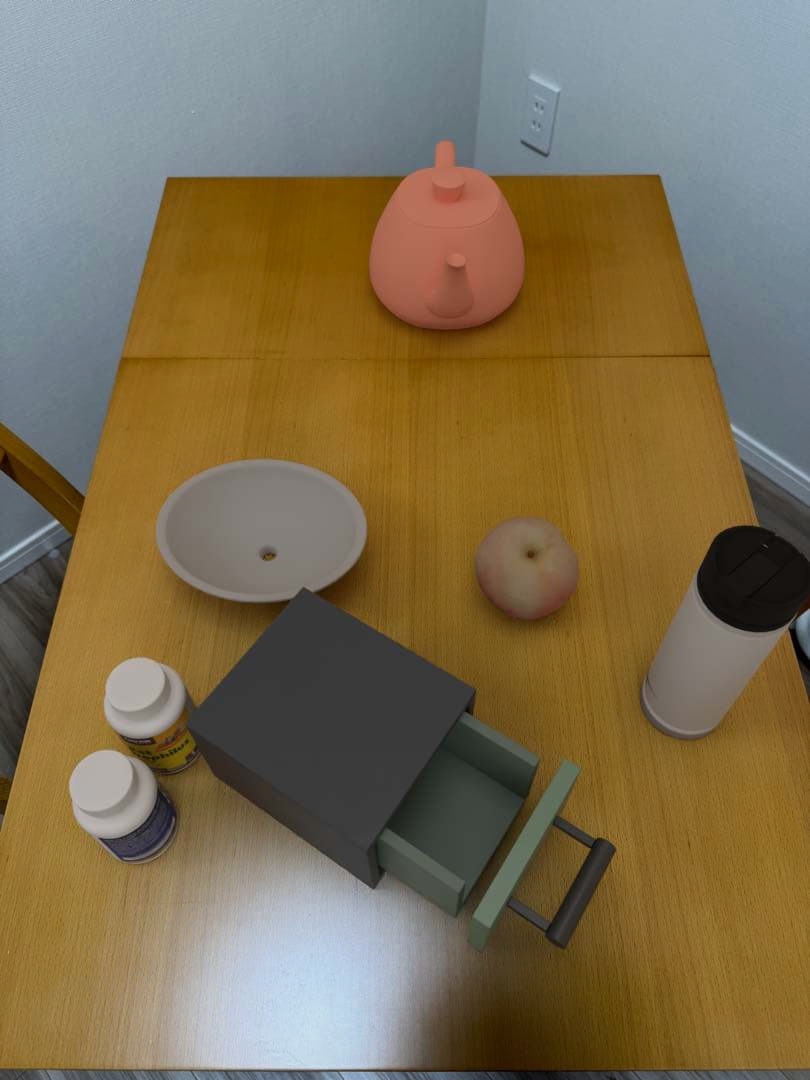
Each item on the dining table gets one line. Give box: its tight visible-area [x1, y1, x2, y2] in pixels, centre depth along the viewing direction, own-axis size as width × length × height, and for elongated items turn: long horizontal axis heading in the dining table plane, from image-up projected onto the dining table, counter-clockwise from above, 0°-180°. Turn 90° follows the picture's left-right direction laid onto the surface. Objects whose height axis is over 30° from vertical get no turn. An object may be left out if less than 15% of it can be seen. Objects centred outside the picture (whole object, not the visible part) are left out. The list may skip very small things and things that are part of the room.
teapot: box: [368, 140, 525, 331], centre depth 89 cm, size 25×17×13 cm
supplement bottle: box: [103, 656, 202, 775], centre depth 61 cm, size 6×6×10 cm
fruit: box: [474, 516, 580, 621], centre depth 69 cm, size 8×8×8 cm
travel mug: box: [639, 524, 810, 741], centre depth 58 cm, size 6×7×20 cm
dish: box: [155, 458, 368, 604], centre depth 72 cm, size 18×14×5 cm
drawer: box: [374, 711, 617, 953], centre depth 56 cm, size 18×11×8 cm, turn 56°
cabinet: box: [185, 587, 477, 891], centre depth 60 cm, size 15×13×10 cm
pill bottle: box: [68, 749, 180, 865], centre depth 57 cm, size 5×5×10 cm
